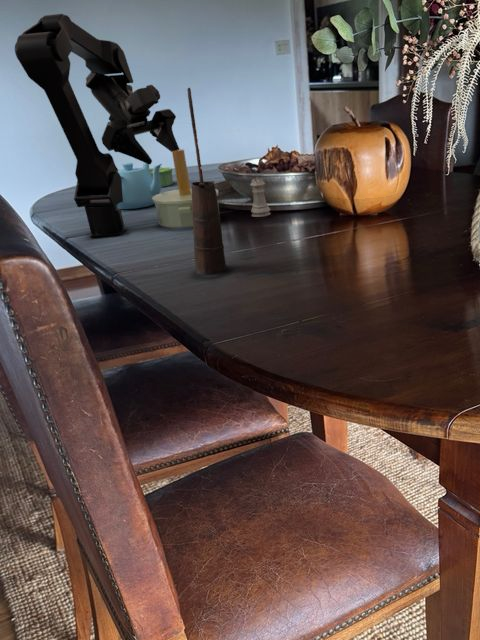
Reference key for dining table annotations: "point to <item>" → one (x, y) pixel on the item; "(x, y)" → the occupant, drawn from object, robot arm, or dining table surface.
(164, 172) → the ramekin
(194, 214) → the butter churn
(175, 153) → the lid
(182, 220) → the pan
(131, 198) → the teapot
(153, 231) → the dining table surface
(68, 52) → the robot arm
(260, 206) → the rook chess piece
